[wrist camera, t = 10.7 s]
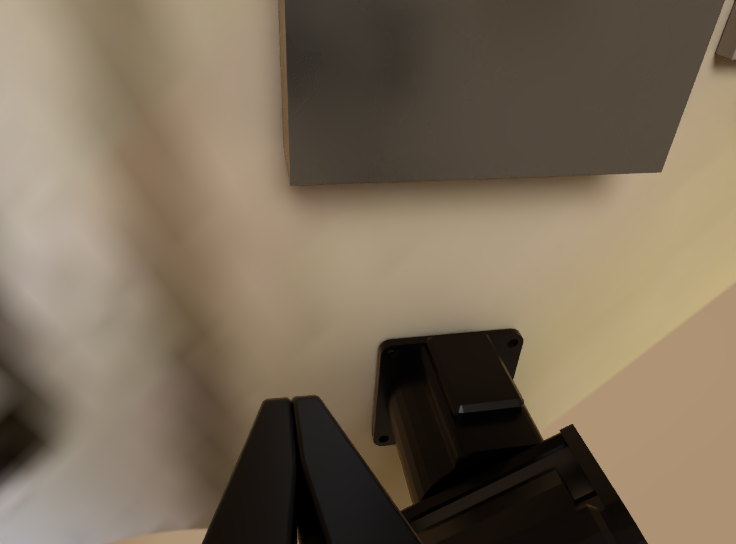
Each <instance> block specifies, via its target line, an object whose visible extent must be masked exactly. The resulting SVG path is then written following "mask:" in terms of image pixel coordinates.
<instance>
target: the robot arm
mask: <svg viewBox="0 0 736 544" xmlns="http://www.w3.org/2000/svg"><path fill="white" fill-rule="evenodd" d="M512 339H513V340H512ZM510 340H512V341H510ZM522 345H523V338H522V336H521V334H520V333H519V331H518V330H516V329H504V330H492V331H481V332H469V333H458V334H446V335H435V336H423V337H412V338H400V339H390V340H386V341H385V342H383V343H382V344H381V345H380V347H379V354H378V366H377V378H376V391H375V403H374V415H373V428H372V436H373V440H374V443H375V444H376V445H379V446H386V445H394V444H396V446H397V449H398V453H399V456H400V460H401V464H402V467H403V471H404V475H405V478H406V482H407V485H408V489H409V493H410V496H411V500H412V503H413V505H411V506H409V507H407V508H405V509H403V510H401V511H400V510H399V509H398V507H397V506H396V505H395V503H394V502H393V500H392V499H391V498H390V496H389V495H388V493H387V492H386V491H385V489H384V488H383V486H382V485H381V483H380V482H379V481H378V479H377V478H376V476H375V475H374V474H373V472H372V471H371V469H370V468H369V467H368V465H367V464H366V462H365V461H364V459H363V458H362V457H361V455H360V454H359V452H358V451H357V450H356V448H355V447H354V445H353V444H352V443H351V441H350V440H349V438H348V437H347V435H346V434H345V433H344V431H343V430H342V428H341V427H340V426H339V424H338V423H337V421H336V420H335V419H334V417H333V416H332V414H331V413H330V411H329V410H328V409H327V407H326V406H325V404H324V403H323V402H322V400H321V399H320V398H319V397H318V396H316V395H308V396H296V397H294V398H293V399H292V400H290V399H289V398H287V397H284V398H272V399H266V400H264V401H263V403H262V405H261V407H260V409H259V412H258V414H257V416H256V419H255V421H254V423H253V426H252V428H251V430H250V433H249V435H248V437H247V440H246V442H245V444H244V447H243V449H242V451H241V454H240V456H239V458H238V461H237V463H236V465H235V468H234V470H233V472H232V475H231V477H230V479H229V482H228V484H227V486H226V489H225V491H224V493H223V496H222V498H221V500H220V503H219V505H218V507H217V510H216V512H215V514H214V517H213V519H212V521H211V524H210V526H209V528H208V531H207V533H206V535H205V538H204V540H203V542H202V544H297V529H298V539H299V544H648V543H647V542H646V540H645V538H644V537H643V535H642V533H641V531H640V530H639V528H638V526H637V525H636V523H635V522H634V520H633V518H632V517H631V515H630V513H629V512H628V510H627V508H626V507H625V505H624V504H623V502H622V501H621V499H620V497H619V496H618V494H617V493H616V491H615V490H614V488H613V487H612V485H611V483H610V482H609V480H608V479H607V477H606V475H605V474H604V472H603V471H602V469H601V468H600V466H599V464H598V463H597V461H596V460H595V458H594V457H593V455H592V453H591V452H590V451H589V449H588V447H587V446H586V444H585V443H584V441H583V439H582V438H581V436H580V435H579V433H578V432H577V430H576V428H575V427H574V426H573V424H571V425H569V426H567V427H565V428H563V429H561V430H560V433H558V434H556V435H554V436H552V437H550V438H548V439H546V440H543V438H542V436H541V434H540V432H539V431H538V429H537V427H536V425H535V423H534V421H533V419H532V418H531V416H530V414H529V412H528V410H527V408H526V406H525V405H524V400H523V398H522V396H521V394H520V392H519V391H518V389H517V387H516V385H515V383H514V381H513V378H514V374H515V371H516V367H517V363H518V360H519V356H520V352H521V349H522ZM390 350H394V351H393V352H389V351H390Z"/></svg>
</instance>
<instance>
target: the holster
mask: <svg viewBox="0 0 736 544" xmlns="http://www.w3.org/2000/svg"><path fill="white" fill-rule="evenodd" d="M716 54H718V55H721V56H723V57H726V58H729V59H731V60H736V1H735V4H734V6H733V9H732V12H731V14H730V17H729V19H728V22H727V25H726V27H725V30H724V33H723V35H722V38H721V41H720V43H719V46H718V48H717V51H716Z"/></svg>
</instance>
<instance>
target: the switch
mask: <svg viewBox="0 0 736 544" xmlns="http://www.w3.org/2000/svg"><path fill="white" fill-rule="evenodd" d="M724 1H725V0H278V5H279V32H280V60H281V88H282V116H283V144H284V151H285V157H286V163H287V169H288V175H289V181H290V186H298V185H325V184H353V183H381V182H408V181H436V180H463V179H491V178H519V177H546V176H574V175H601V174H629V173H657V172H661V171H662V169H663V166H664V163H665V161H666V158H667V155H668V152H669V150H670V147H671V144H672V142H673V139H674V136H675V134H676V131H677V128H678V125H679V123H680V120H681V117H682V115H683V112H684V109H685V107H686V104H687V101H688V98H689V96H690V93H691V90H692V88H693V85H694V82H695V79H696V77H697V74H698V71H699V69H700V66H701V63H702V61H703V58H704V55H705V52H706V50H707V47H708V44H709V42H710V39H711V36H712V34H713V31H714V28H715V25H716V23H717V20H718V17H719V15H720V12H721V9H722V6H723V4H724Z"/></svg>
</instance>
